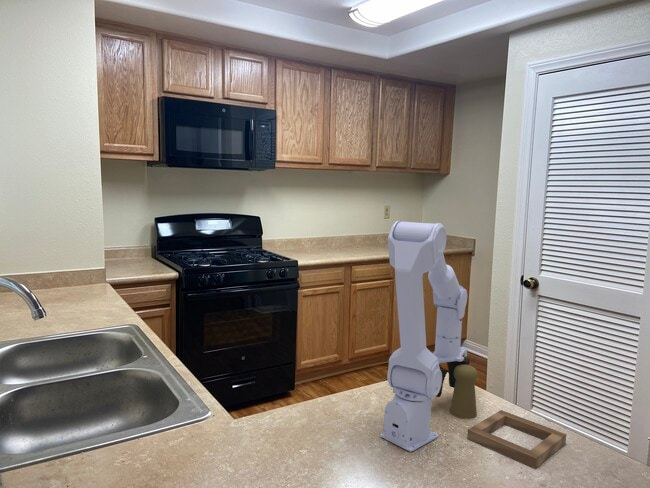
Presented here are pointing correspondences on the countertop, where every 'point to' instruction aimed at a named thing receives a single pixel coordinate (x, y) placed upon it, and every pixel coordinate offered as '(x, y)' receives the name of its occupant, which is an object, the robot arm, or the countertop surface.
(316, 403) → the countertop surface
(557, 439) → the socket block
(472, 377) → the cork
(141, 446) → the countertop surface
